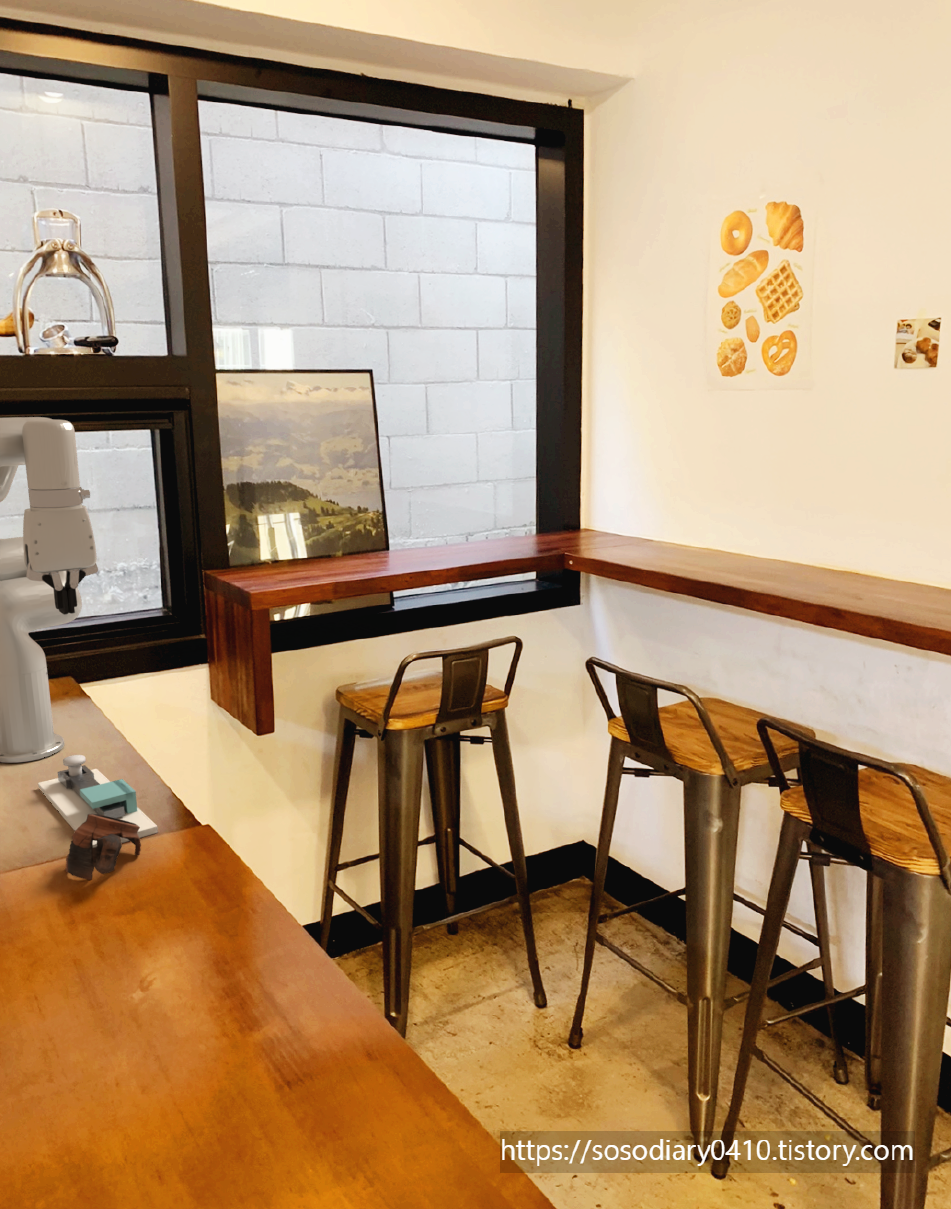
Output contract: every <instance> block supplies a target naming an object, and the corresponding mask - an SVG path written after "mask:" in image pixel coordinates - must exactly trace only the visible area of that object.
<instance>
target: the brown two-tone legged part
mask: <svg viewBox="0 0 951 1209" xmlns="http://www.w3.org/2000/svg"><path fill="white" fill-rule="evenodd" d="M139 828H140V827H139V826H138V825H136V824H135V823H132V822H128V821H124V820H120V819H116V818H113V817H108V816H104V815H99V814H88V816H87V820H86V821H85V822H84V823H82V824H81V825H80V827H78V828H77V830H73V831H74V832H73V833H72V836H71V838H72V840H71V841H70V844H69V849H68V851H69V852H68V854H67V855H66V858H65V861H66V862H65V872H67V873H68V874H69V875H71V876H74V877H76V878H80V879H84V880H89V881H91V880H92V879H93V872H94V871H95V870H96V871H97V872H98V873H100V874H101V875H102V874H103V875H105V874H108V873H112V872H113V871H115V868H116V865H117V860H118V856H119V855H120V853H121V849H122V846H123V845H122V844H123V843H121V838H120V837H122V838H126V839H128V840H130V841H129V842H131V843H132V844H133V845H134V849H135V850H134V856H136V857H137V856H140V855H141V851H142V850H141V847H142V843H141V839H140V838H139V836H138V830H139ZM93 840H94V841H97V846H96V847H93Z"/></svg>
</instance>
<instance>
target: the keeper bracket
mask: <svg viewBox="0 0 951 1209" xmlns="http://www.w3.org/2000/svg"><path fill="white" fill-rule="evenodd" d="M80 796H81V797H82V798H83V799H84V800H85V801H86V802H87V803H88V804H89V805H90V806H91V807H92V809H94V808H98V807H102V806H105V805H109V804H113V803H117V802H120V803H121V804H122V805H123V806H124V811H125V812H126V813H127V814H129V813H132V812H136V811H137V807H138V803H137V791H136V790H135V789H134V788H133V787H132V786H131V785H129V783H127V782H126V781H125V780H124V779H123V778H120V779H117V780H113V781H110V782H108V783H104V784H100V785H96V786H92V787H88V788H84V789H80Z"/></svg>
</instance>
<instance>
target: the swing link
mask: <svg viewBox="0 0 951 1209" xmlns="http://www.w3.org/2000/svg"><path fill="white" fill-rule="evenodd" d="M81 766H82V774H81V775H77V776H73V777H69V769H67V768H66V769H64V770H60V771H57V778H58V780H59V781H60V782H61V783H62V784H63V786H64V787H65V788H66V789H68V788H72V789H73V790H74V791H75V792H76V793H77V794H78V795H79V796H80V789H84V788H88V787H92V786H96V785H100V784H99V783H98V782H97V781H96V780H95V779H94V773H93V772H92V771H91V770H92V769H90V768H88V767H87V765H81ZM80 797H81V796H80ZM81 798H82V797H81ZM82 799H83V798H82ZM83 800H84V799H83ZM84 801H85V800H84ZM85 802H86V801H85ZM86 803H87V802H86ZM87 804H88V803H87ZM88 805H89V804H88ZM89 806H90V805H89ZM90 807H91V806H90ZM91 808H92V807H91ZM93 810H94V811H95V812H96V813H97V814H99V815H104V816H108V817H113V818H118V817H121V816H125V812H124V806H123V805H122V804H121V803H120V802H117V803H113V804H109V805H105V806H102V807H98V808H94V809H93Z"/></svg>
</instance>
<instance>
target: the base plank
mask: <svg viewBox="0 0 951 1209" xmlns="http://www.w3.org/2000/svg"><path fill="white" fill-rule="evenodd" d="M86 759H87V758H86V756H85V755H83V754H73V755H69V756H66V757H64V758H63V759H62V765H63V766H65V767H68V769H69V777H73V776H77V775H81V774H82V766H83V764H85V763H86ZM90 770H91V771H92V772H93V773H94V779H95V780H96V781H97V782H98V783H99V784H104V783H108V782H111V781H110V779H108V778H107V777H106V776H105V775H104V774H103V773H102V772H101V771H100V770H99V769H98V768H93V769H90ZM37 786H38V787H39V788H40V789H41V791H42V792H43V793H44V794H43V793H42V792H41V791H40V792H41V793H42V794H43V796H44V795H45V796H46V797H45V798H46V799H47V800H48V802H49V803H50V802H51V803H52V804H51V803H50V804H51V805H52V806H53V807H54V809H56V811H57V810H58V811H59V812H58V811H57V812H58V813H59V814H60V815H61V817H62V818H63V819H64V820H65V821H66V823H67V824H68V825H69V826H70V827H71V829H73V831H75V830H77V828H78V827H80V825H81V824H82V823H84V822H85V821H86V820H87V816H88V814H97V813H96V812H95V811H94V810H93V809H92V808H91V807H90V806H89V805H88V804H87V803H86V802H85V801H84V800H83V799H82V798H81V797H80V796H79V795H78V794H77V793H76V792H75V791H74V790H73V789H72V788H68V789H66V788H65V787H64V786H63V784H62V783H61V782H60V781H59V780H58V777H56V778H52V779H49V780H44V781H39V782H37ZM124 812H125V811H124ZM116 819H120V820H124V821H128V822H132V823H135V824H136V825H138V826H139V827H140V828H139V830H138V836H139V838H143V837H148V836H151V835H154V834H157V833H159V828H158V825H157V824H156V823H155V822H154V821H153V820H152V819H151V818H149V816H148V815H146V814H145V813H144V812H143V810H141V809H140V808H139V807H138V806H137V811H136V812H132V813H129V814H127V813H126V812H125V816H121V817H118V818H116ZM120 838H121V844H124V843H126V842H127V843H128V842H131V841H130V840H128V839H126V838H122V837H120ZM96 846H97V841H94V840H93V847H96Z"/></svg>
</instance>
